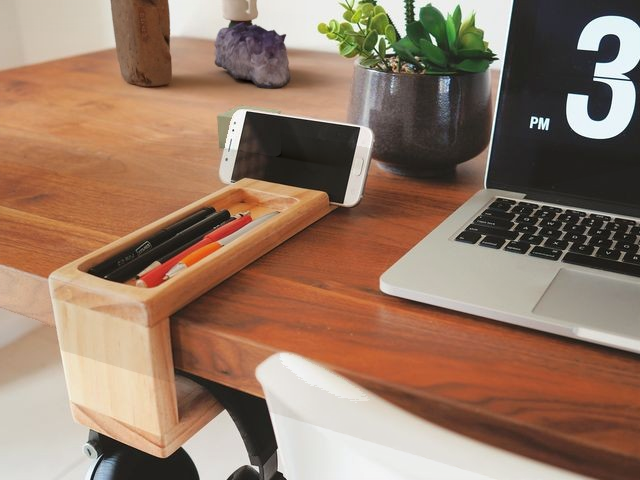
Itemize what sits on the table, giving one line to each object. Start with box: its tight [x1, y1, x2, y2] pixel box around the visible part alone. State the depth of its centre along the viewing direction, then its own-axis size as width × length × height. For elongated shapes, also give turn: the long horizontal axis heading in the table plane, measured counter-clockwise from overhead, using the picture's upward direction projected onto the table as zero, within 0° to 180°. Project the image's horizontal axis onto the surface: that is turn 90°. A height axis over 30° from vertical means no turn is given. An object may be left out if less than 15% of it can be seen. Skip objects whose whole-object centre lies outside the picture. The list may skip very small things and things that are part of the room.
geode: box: [213, 22, 291, 89], centre depth 127 cm, size 20×12×10 cm, turn 31°
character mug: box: [221, 0, 259, 28], centre depth 147 cm, size 11×7×13 cm, turn 35°
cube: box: [216, 105, 282, 150], centre depth 87 cm, size 6×6×6 cm
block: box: [110, 0, 173, 87], centre depth 119 cm, size 11×8×20 cm
